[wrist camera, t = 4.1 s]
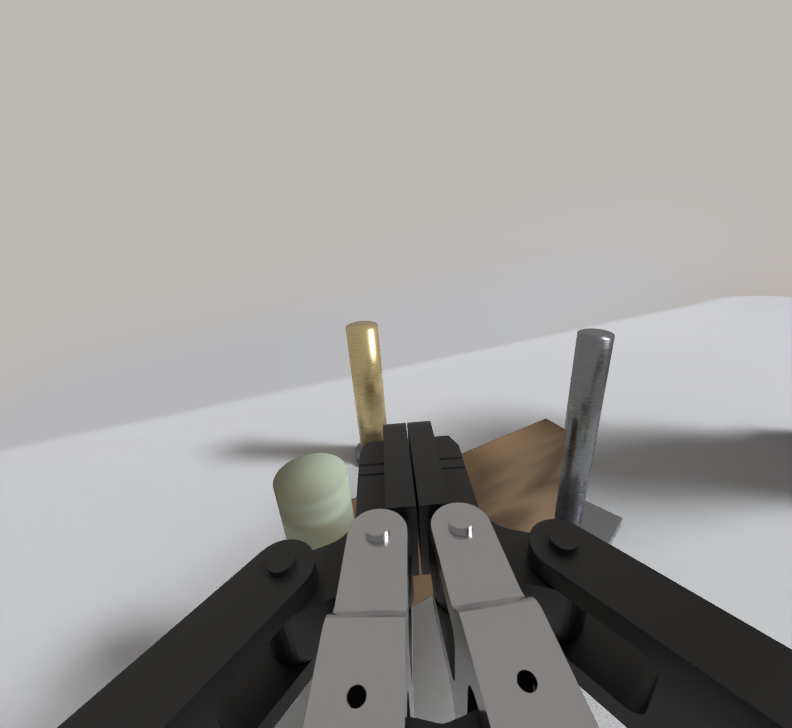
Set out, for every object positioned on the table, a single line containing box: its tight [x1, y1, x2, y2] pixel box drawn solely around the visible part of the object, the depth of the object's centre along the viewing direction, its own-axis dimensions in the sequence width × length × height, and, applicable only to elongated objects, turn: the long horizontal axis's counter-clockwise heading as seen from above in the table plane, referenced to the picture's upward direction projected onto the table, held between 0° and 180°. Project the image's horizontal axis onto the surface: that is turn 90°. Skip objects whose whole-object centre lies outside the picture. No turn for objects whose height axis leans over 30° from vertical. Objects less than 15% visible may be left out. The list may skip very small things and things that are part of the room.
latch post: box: [346, 321, 387, 462], centre depth 37 cm, size 4×4×14 cm
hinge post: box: [554, 329, 622, 544], centre depth 26 cm, size 6×6×16 cm
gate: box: [273, 419, 567, 606], centre depth 22 cm, size 17×3×12 cm, turn 118°
